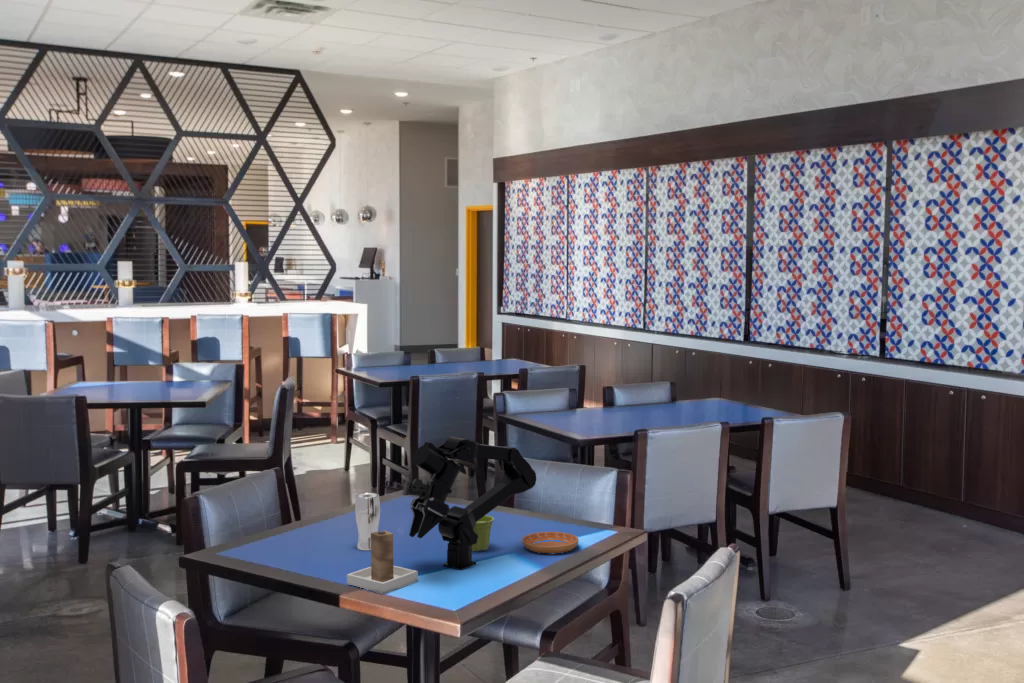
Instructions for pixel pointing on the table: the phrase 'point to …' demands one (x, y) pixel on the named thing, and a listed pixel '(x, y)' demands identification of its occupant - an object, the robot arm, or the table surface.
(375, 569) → the walnut post
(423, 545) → the table surface
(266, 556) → the table surface
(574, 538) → the saucer
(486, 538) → the plant pot
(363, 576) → the bus tray
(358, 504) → the beer glass
